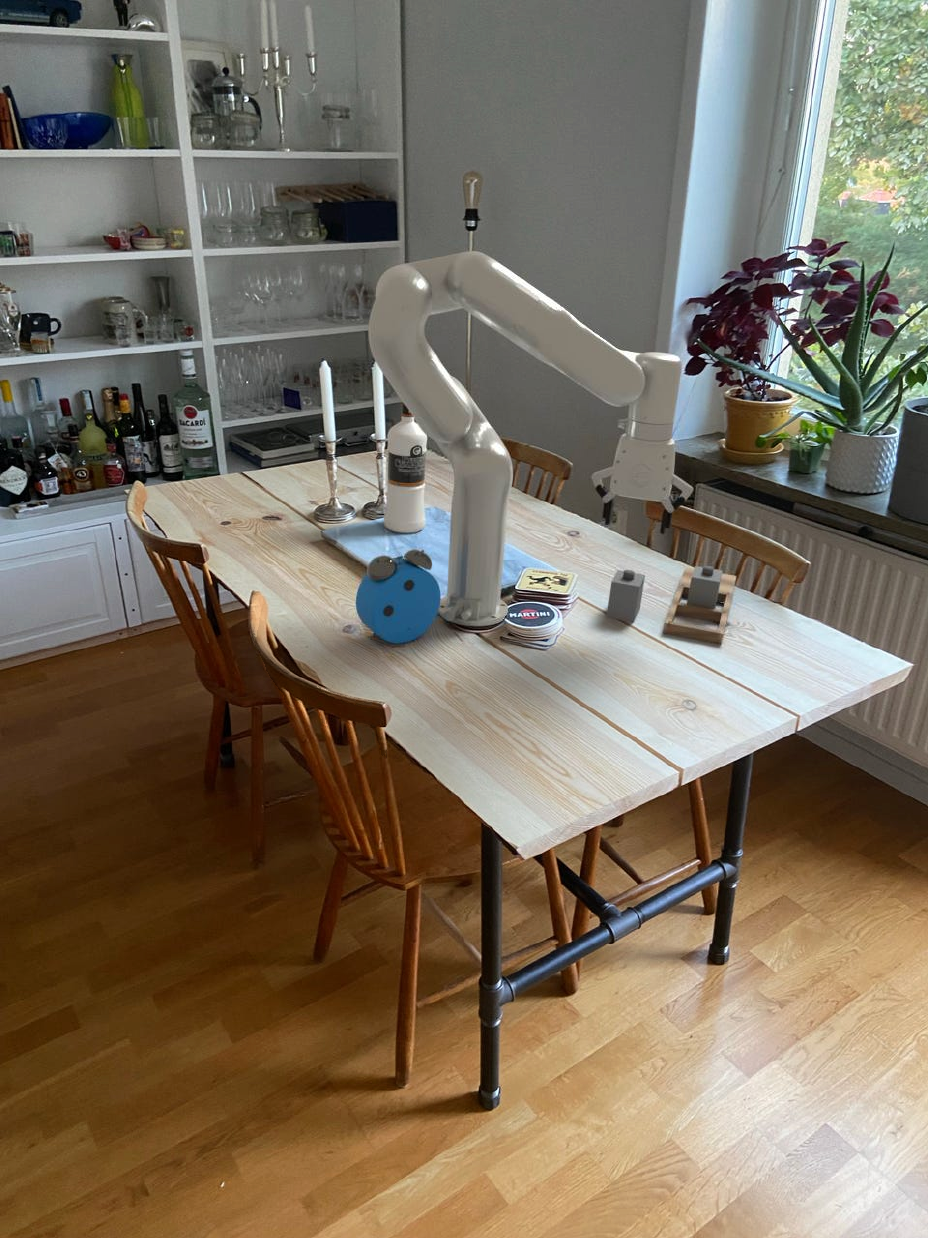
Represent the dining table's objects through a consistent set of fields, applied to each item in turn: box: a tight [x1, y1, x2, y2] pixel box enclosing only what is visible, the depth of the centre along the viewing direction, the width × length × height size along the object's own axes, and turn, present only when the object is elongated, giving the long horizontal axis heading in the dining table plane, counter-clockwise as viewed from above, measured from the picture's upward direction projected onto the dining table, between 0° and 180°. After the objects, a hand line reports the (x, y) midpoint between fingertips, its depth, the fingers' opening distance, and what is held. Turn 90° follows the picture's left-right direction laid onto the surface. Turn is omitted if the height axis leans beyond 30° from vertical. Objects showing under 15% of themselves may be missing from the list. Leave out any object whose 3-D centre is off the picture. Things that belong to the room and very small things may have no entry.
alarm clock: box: [355, 549, 442, 644], centre depth 148 cm, size 13×6×15 cm, turn 125°
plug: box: [606, 569, 646, 623], centre depth 164 cm, size 6×5×8 cm
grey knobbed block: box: [686, 565, 724, 609], centre depth 168 cm, size 6×5×8 cm
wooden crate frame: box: [662, 566, 737, 645], centre depth 169 cm, size 28×10×3 cm, turn 160°
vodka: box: [383, 400, 428, 534], centre depth 193 cm, size 9×9×30 cm
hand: (635, 527), depth 159 cm, fingers open, 9 cm apart
